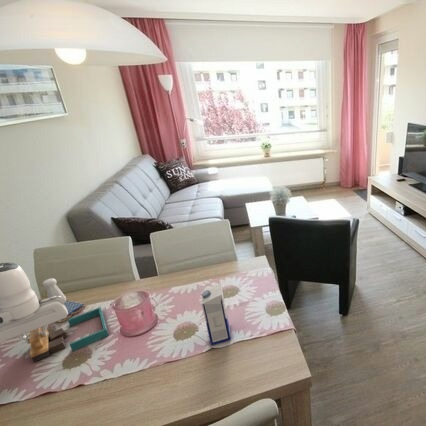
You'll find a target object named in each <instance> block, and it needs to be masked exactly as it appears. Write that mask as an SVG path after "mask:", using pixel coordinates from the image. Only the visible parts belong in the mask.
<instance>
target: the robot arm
mask: <svg viewBox="0 0 426 426" xmlns="http://www.w3.org/2000/svg"><path fill="white" fill-rule="evenodd" d="M57 297H58V298H57ZM66 317H68V310H67V308H66V307H65V305H64V299H63V298H62V297H61V296H52V297H50V298H48V297H47V298H44V299H41V300H39V298H38V296H37V294H36V292H35V291H34V290H33V289H32V287H31V282H30V279H29V277H28V275H27V274H26V272H25V271H24V269H23V268H22V267H21V266H20V265H19V264H17V263H14V262H1V263H0V344H1V343H3V342H6V341H9V340H11V339H15V338H18V339H20V340H23V341H25V342H26V344H30V342H29V341H30V335H26V334H27V333H30V331H33V330H35V329H38V328H41V329H42V331H41V332H40V335H41V337H42V338H43V337H46V336H47V332H46V330H48V328H49V327H48V325H51V324H54V323H56V322H58V321H59V320H62V319H64V318H66Z"/></svg>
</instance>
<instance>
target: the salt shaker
mask: <svg viewBox="0 0 426 426" xmlns="http://www.w3.org/2000/svg"><path fill="white" fill-rule="evenodd" d="M57 283H58V282H57V280H56V279H55V278H52V277H51V278H48V279H45V280H43V282H42V286H43V287H44V288H46V294H47V298H50V297H52V296H61V297H62V298H63V299H64V303H65V302H67V297H66V295H65V294H64V293H63V291H62V290H61V289H60V288H59V286H58V285H57ZM57 298H58V297H57Z"/></svg>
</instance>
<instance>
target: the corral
mask: <svg viewBox="0 0 426 426" xmlns="http://www.w3.org/2000/svg"><path fill="white" fill-rule="evenodd" d="M96 317H100V321H101V325H102V329H101V330H100V329H99V330H97V331H96V332H94V333H91V334H89V335H86V336H84V337H82V338H79V339H76V340H74V341H72V342H70V343H69V347H70V349H71V351H72V352H74V351H77V350H79V349H81V348H83V347H86V346H87V345H90V344H92V343H95V342H97V341H99V340H101V339H104V338H106V337H108V336H109V332H108V331H109V330H108V328H107V324H106V320H105V315H104V311H103V309H102V307H101V306H99V307H97V308H94V309H92V310H88V311H87V312H84V313H81V314H79V315H78V314H77V315H75V316H73V317H70V318H68V319H67V322H68V324H69V326H70V327H73V326H75V325H78V324H81V323H83V322H86V321H88V320H90V319H93V318H96Z"/></svg>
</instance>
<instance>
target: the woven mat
mask: <svg viewBox="0 0 426 426" xmlns="http://www.w3.org/2000/svg"><path fill="white" fill-rule="evenodd" d="M64 305H65V307H66V308H67V310H68V316H67V317H66V318H64V319H62V320H59V321H57V323H63V322H64V321H65V322H66V320H68V319H70V318H72V316H73V315H75V314H77V313H79V312H80V311H81V310H83V309H84V308H85V307H86V304H85V303H81V302H78V301H71V300H66V302H65V303H64Z"/></svg>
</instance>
